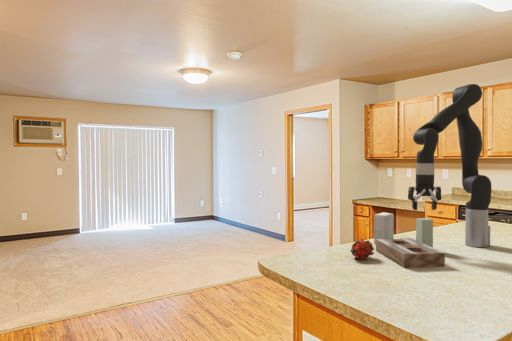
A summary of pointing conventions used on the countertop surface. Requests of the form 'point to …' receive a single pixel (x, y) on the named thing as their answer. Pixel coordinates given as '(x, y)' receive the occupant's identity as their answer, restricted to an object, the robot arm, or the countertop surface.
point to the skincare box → (383, 226)
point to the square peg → (424, 231)
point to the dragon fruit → (362, 249)
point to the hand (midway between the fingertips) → (424, 209)
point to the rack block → (410, 253)
